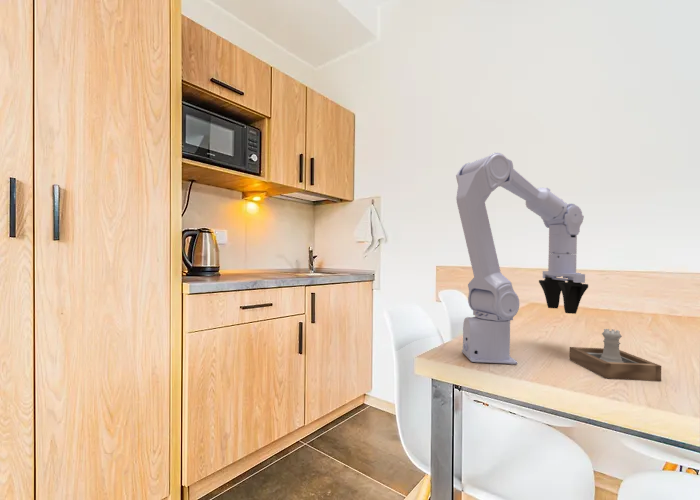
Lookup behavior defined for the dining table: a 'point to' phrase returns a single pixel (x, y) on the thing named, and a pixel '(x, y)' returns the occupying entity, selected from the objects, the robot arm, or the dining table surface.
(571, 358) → the box
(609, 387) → the dining table surface
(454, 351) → the dining table surface
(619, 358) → the rook chess piece
